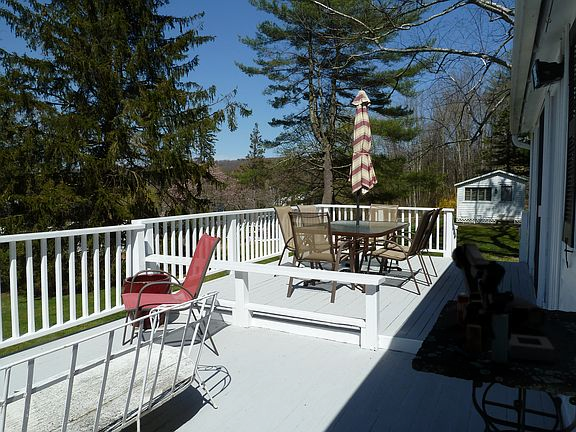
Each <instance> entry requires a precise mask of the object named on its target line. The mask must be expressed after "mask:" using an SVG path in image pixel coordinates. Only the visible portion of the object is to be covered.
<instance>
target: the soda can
mask: <svg viewBox="0 0 576 432" xmlns="http://www.w3.org/2000/svg"><path fill="white" fill-rule="evenodd" d="M468 298H469V296H468V292H460V293H458V294H457V296H456V324H457V325H458V326H460V327H462V328H466V329H467V325H468V322H465V321H463V312H464V309H465V307H466V305H467V302H468Z"/></svg>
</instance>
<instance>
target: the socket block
mask: <svg viewBox="0 0 576 432" xmlns="http://www.w3.org/2000/svg"><path fill="white" fill-rule="evenodd" d="M555 352H556V350H555V348H554V345H552V343H551V341H550V340H549V339H548V337H547V336H538V335H529V334H528V335H527V334H526V335H525V334H514V333H511V339H510V340H508V355H509V357H510V359H521V360H528V361H529V360H532V361H541V362H549V363H555V356H556V355H555Z"/></svg>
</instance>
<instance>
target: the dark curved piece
mask: <svg viewBox="0 0 576 432" xmlns="http://www.w3.org/2000/svg"><path fill="white" fill-rule="evenodd" d="M513 295H514V301H512V302H509V303H508V304H506V306H507V307H506V308H504V311H512V309H513V307H526V308H527V309H528V311H529V316H528V318H527V319H526V321H525V322H524V323H515V324H517V325H518V326H520V327H522V328H529V329H534V330H535V329H537V330H538V329H542V328H543V327H544V326H545V325H546V324H547V321H548V316H547V313H546V311H545V310H544V309H543V308H542V307H540V306H539V305H537V304H536V303H533V302H532V301H530V300H527V299H525V298H523V297H521V296H518V295H516V294H513Z"/></svg>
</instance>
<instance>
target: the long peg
mask: <svg viewBox="0 0 576 432" xmlns="http://www.w3.org/2000/svg"><path fill="white" fill-rule="evenodd" d="M491 327H492V330H493V333H494V340H492V339H491V360H492V362H494V363H496V364H497V363H498V364H506V363H508V361H509V360H508V359H509V356H508V355H509V352H508V316H507V315H505V314H493V315H492V322H491Z"/></svg>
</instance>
